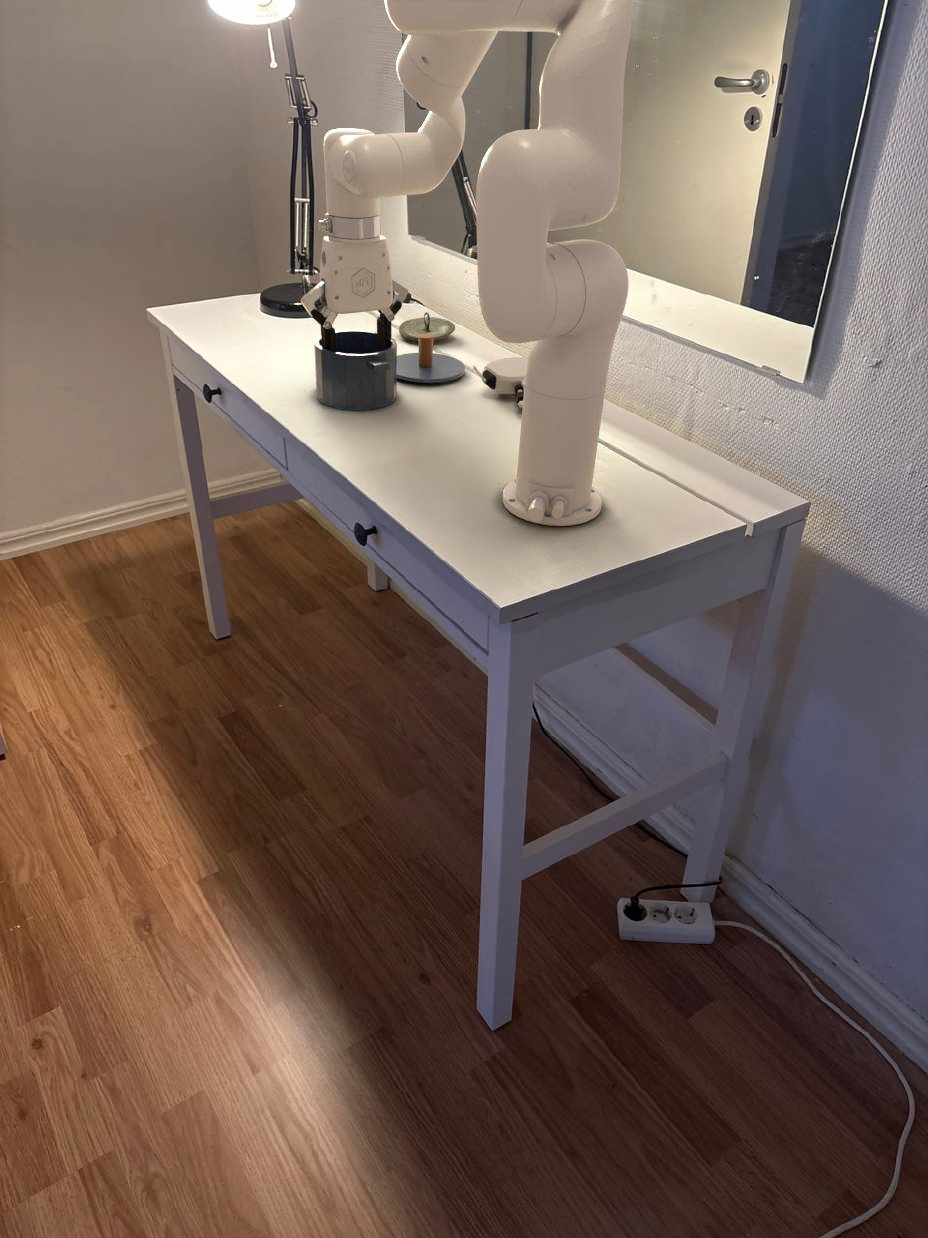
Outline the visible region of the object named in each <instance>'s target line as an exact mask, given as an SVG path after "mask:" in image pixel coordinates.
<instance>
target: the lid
mask: <svg viewBox="0 0 928 1238" xmlns="http://www.w3.org/2000/svg"><path fill="white" fill-rule="evenodd" d="M455 329H456V325H455V324H454V323H453V322H452V321H450V320H448V319H444V318H440V317H434V316H433V317H432V316H431V315H430V313H429V312H427V311H426V312H425V313H424V314H423V317H417V318H412V319H407V320H405V321H403V322H402V323H401V324H400V325H399V327H398V333H399V335H400V336H401V337H402V338H404V339H407V340H410V341H411V340H412V341H417V342H419V335H420V334H430V335H433V341H438V340H441V339H445V338H446V337H448V336H451V334H453V333H454V332H455V331H456V330H455Z"/></svg>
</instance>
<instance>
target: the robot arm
mask: <svg viewBox="0 0 928 1238" xmlns="http://www.w3.org/2000/svg"><path fill="white" fill-rule="evenodd" d="M384 5H385V10H386V13H387V16H388V18H389V20H390V21H391V24H392V25H393V26H394V27H395V29H396V30H397V31H399V32H400V33H402V34H405V35H407V37H406V39H405V41H404V43H403V44H402V47H401V49H400V52H399V53H398V56H397V59H396V73H397V77H398V80H399V82H400V84H401V86H402V88H403V89H404V91H405V92H406V93H407V94H408V96H410V98H412V99H413V100H414V101H415V102H416V103H418V105H420V106H421V107H423V108H424V109H426V110H428V111H429V112H428V113H427V114H428V115H427V116H426V118H425V120H424V121H423V123H422V125H421V127H420V128H419V129H418V130H417V131H416V132H391V133H378V134H377V133H374V132H373V131H370V130H367V129H362V128H361V129H360V128H336V129H331V130H329V131H328V132H327V133H326V134H325V136H324V139H323V161H324V162H323V163H324V183H325V204H326V205H325V207H326V213H325V214H324V216H325V218H324V219H323V220H318V221H317V228H318V231H319V232H325V234H327V236H323V240H322V245H321V253H320V262H319V282H318V283H317V284H316V285H315V286H313V287H312V288H311V289H310V290H309V291H308V292H307V293H305V294H304V295H303V296H302V297H301V298H300V304H301V305H302V306H303V307H304V309H305V311H306V312H307V314H308V315H309V316H310V317H311V318H312V319H313V320H315V321H316V322H317V323H318V324H319V326H320V336H321V344H322V347H323V348H324V349H327V350H330V351H333V352H336V333H335V330H336V329H335V327H333V324H334V322H335V321H336V320H337V317H338V315H345V314H357V313H366V312H373V311H377V313H378V315H379V316H377V318H376V332H377V343H378V344H380V345H381V346H383V347H384V348H389V347H390V340H391V338H393V337H392V333H393V332H392V322H393V321H394V320H395V319H396V315H397V314H398V313H399V311H400V310H401V309H402V307H403V303H404V301H406V298H407V296H408V295H409V289H407V288H406V287H404V286H403V285H401V284H400V283H398V282H396V281H395V280H394V279H393V276H392V265H391V258H390V252H389V247H388V242H387V237H385V236H383V235H381V199H383V198H392V197H399V196H414V195H422V194H423V195H424V194H427V193H429V192H432V191H433V190H435V189H436V188H437V187H438V186H439V185H440V184H441V183H442V182H443V181H444V180H445V178H446V177H447V176H448V174H449V172H450V170H451V169H452V167H453V165H454V164H455V163H456V161H457V159H458V158H459V155H460V154H461V151H462V148H463V146H464V142H465V135H466V134H465V133H466V111H465V107H464V101H463V98H462V97H463V94H464V92H465V90H466V89H467V87H468V86H469V84H470V82H471V81H472V78H473V77H474V75H475V73H476V72H477V70H478V68H479V66H480V64H481V63H482V61H483V59H484V58H485V56H486V54H487V52H488V50H489V49H490V47H491V46H492V43H493V41H494V40H495V38H496V36H497V35H498V33H499V32H521V33H522V32H525V33H527V32H529V33H530V32H538V33H539V32H541V33H554V34H556V35H557V38H556V40H555V41H554V43H553V44H552V47H551V48H550V50H549V53H548V55H547V57H546V59H545V63H544V66H543V69H542V73H541V76H540V82H539V113H538V115H539V116H538V126H537V128H533V129H532V128H531V129H517V130H514V131H511V132H507V133H505V134H503V135H501V136H500V137H498V138H496V140H495V141H494V142H493V143H492V144H491V145H490V146H489V148H488V149H487V150H486V153H485V155H484V157H483V158H482V161H481V163H480V167H479V171H478V175H477V180H476V188H475V189H476V190H475V191H476V194H475V214H476V215H475V219H476V220H475V221H476V259H477V261H476V262H477V263H476V264H477V288H478V289H477V292H478V301H479V307H480V311H481V315H482V319H483V321H484V322H485V325H486V327H487V328H488V330H489V331H490V332H491V334H492V335H493V336H494V337H496V338H497V339H499V340H500V341H502V342H505V343H508V344H525V343H531V342H533V343H532V345H531V348H530V351H529V355H528V357H527V358H528V362H527V367H526V375H525V386H524V398H523V408H521V420H520V421H521V422H520V433H519V444H518V446H519V447H518V456H517V467H516V478H515V479H513V480H512V481H510V482H509V483H507V484H506V485H505V487H504V488H503V490H502V498H501V499H502V500H501V501H502V503H503V506H504V507H505V508H506V509H507V510H508V511H509V512H510V513H511V514H512V515H514V516H516V517H518V518H520V519H521V520H524V521H527V522H530V523H534V524H539V525H543V526H552V527H566V526H567V527H568V526H576V525H581V524H584V523H587V522H589V521H591V520H593V519H595V518H596V517H597V516H598V515H599V514H600V512H601V511H602V506H603V498H602V495H601V493H599V491H598V490H597V489H596V488H594V487H593V481H594V474H595V466H596V460H597V452H598V443H599V438H600V430H601V423H602V422H601V421H602V416H603V409H604V402H605V394H606V389H607V382H608V374H609V368H610V361H611V357H612V352H613V347H614V343H615V339H616V337H617V332H618V330H619V326H620V323H621V321H622V318H623V314H624V312H625V309H626V304H627V300H628V297H629V295H628V294H629V286H630V285H629V283H630V282H629V273H628V268H627V265H626V263H625V261H624V259H623V257H622V256H621V254H619V252H618V251H617V250H616V249H615V248H614V247H612V246H611V245H609V244H607V243H606V242H603V241H600V240H596V239H585V238H584V239H582V238H581V239H572V240H563V241H558V242H551V243H548V235H549V232H552V231H559V230H566V229H574V228H581V227H587V226H590V225H593V224H596V223H599V222H601V221H603V220H605V219H606V218H607V217H608V216H609V215H610V214H611V213H612V212H613V210H614V208H615V206H616V204H617V201H618V196H619V192H620V182H621V169H622V168H621V167H622V166H621V165H622V145H623V144H622V143H623V125H624V123H623V122H624V104H625V103H624V99H625V97H624V96H625V94H624V93H625V91H624V89H625V72H626V65H627V58H628V52H629V46H630V45H629V44H630V40H631V39H630V38H631V33H632V25H633V15H634V14H633V13H634V0H384ZM319 299H320V303H321V305H322V306H323V308H322V309H321V311H319V310H318V309H317V306H316V305H315V303H316V302H317V301H318V300H319Z"/></svg>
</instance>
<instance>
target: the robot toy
mask: <svg viewBox="0 0 928 1238" xmlns="http://www.w3.org/2000/svg"><path fill="white" fill-rule="evenodd" d="M527 362H528V357H525V356H523V357H519V356H517V357H503V358H500V359H496V360H493V361H491V362H488V363H486V365H484V367H483V371H482V374H481V372H480V371H479V369H478V368H477V366H476V365H474V364H473V365H472V368H473V370H474V371H475V372H476V374H477V375H478V376H479V377H480V379H481V381H482V383H483V384H484V385H485V386H487V387H488V388H490V389H491V390H492V391H493V392H495V393H496V394H498V395H515V402H516V406H517V408H519V409H523V398H524V386H525V375H526V367H527Z"/></svg>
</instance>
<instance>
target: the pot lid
mask: <svg viewBox="0 0 928 1238" xmlns="http://www.w3.org/2000/svg"><path fill="white" fill-rule="evenodd" d="M417 348H418V350H417V352H407V353H402V354H397V379H398V380H399V379H400V380H403V381H407V382H412V383H413V382H414V383H423V384H434V383H435V384H437V383H446V382H450V381H453V380H456V379H459V378H461V377H462V376H464V374H465V371H466V366H465V364H464V363H463V362H462V361H461V360H459V359H458V358H455V357H453V356H449V355H445V354H441V353H436V352H435V353H434V340H433V335H430V334H420V335H419V341H418V347H417Z"/></svg>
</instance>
